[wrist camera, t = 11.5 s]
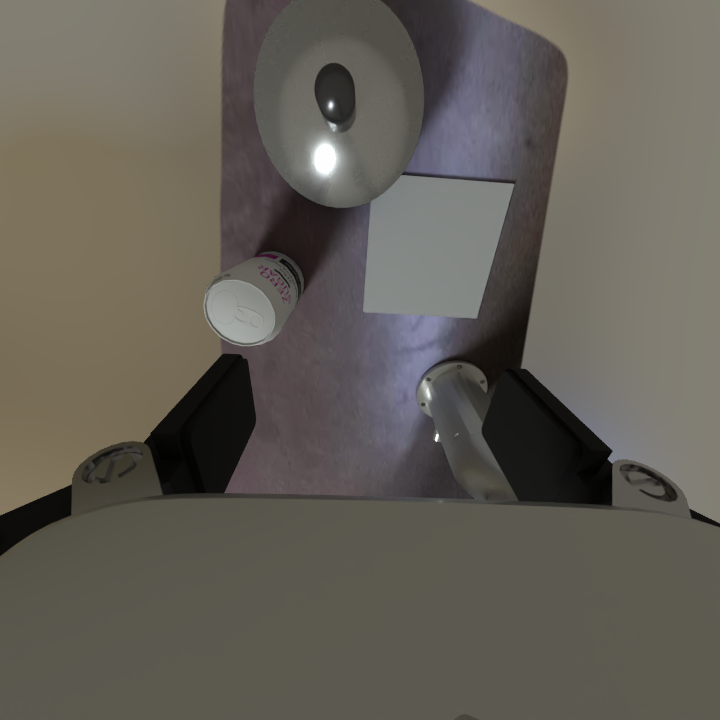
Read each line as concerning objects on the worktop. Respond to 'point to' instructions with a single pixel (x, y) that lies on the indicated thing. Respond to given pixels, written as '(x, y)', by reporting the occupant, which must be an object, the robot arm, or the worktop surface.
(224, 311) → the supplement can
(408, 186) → the mat
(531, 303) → the worktop surface
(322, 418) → the worktop surface
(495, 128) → the worktop surface
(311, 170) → the lid
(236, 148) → the worktop surface
